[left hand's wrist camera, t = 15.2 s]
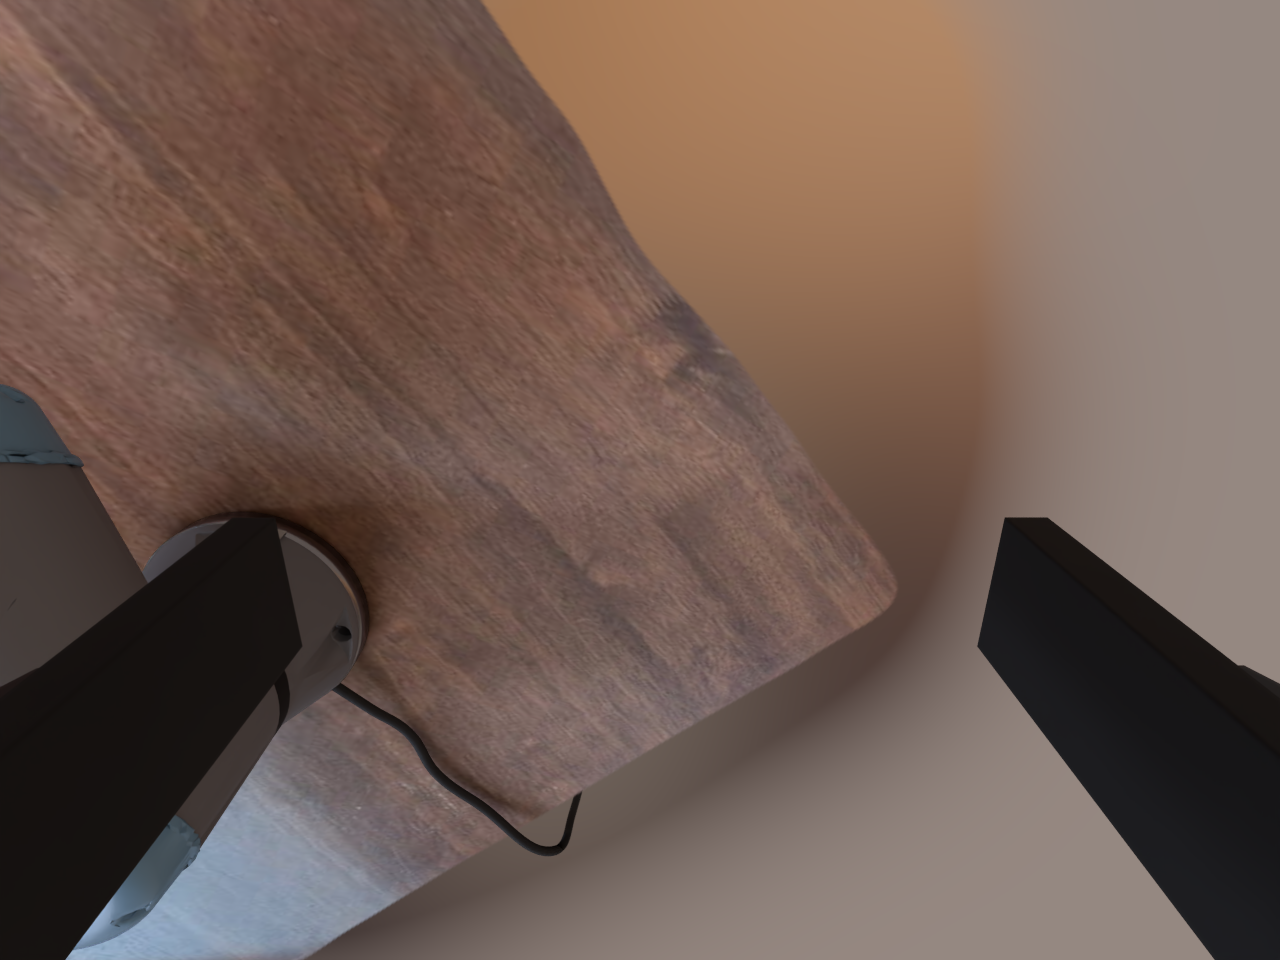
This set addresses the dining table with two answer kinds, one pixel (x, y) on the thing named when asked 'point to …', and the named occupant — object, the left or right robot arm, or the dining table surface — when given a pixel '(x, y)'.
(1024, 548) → the left robot arm
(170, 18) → the dining table surface
